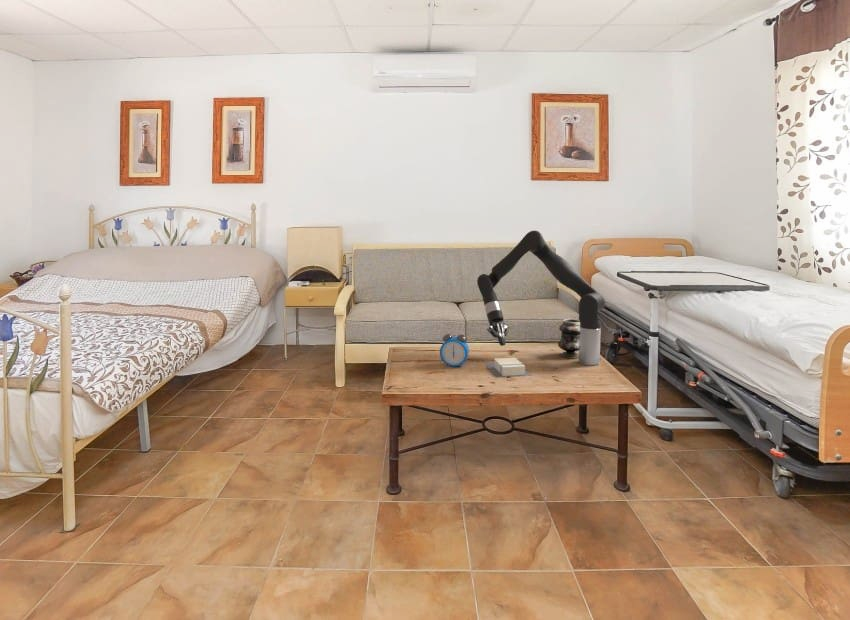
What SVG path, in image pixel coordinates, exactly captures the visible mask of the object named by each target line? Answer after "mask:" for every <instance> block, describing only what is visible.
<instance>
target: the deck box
mask: <svg viewBox="0 0 850 620" xmlns="http://www.w3.org/2000/svg"><path fill="white" fill-rule="evenodd" d="M493 363H494V368H495V369H496V370H497V371H498V372H499V373H500V374H501V375H502V376H512V377H516V376H515V375H525V369H526V365H525V364H524V363H522V362H521V361H520V360H518V358H517V357H503V358H501V357H500V358H498V357H497V358H493Z"/></svg>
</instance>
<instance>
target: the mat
mask: <svg viewBox="0 0 850 620" xmlns="http://www.w3.org/2000/svg"><path fill="white" fill-rule="evenodd" d="M483 364H484V365H485V366H486V368H487V369H488V370H490V371H491V373H492V374H493V375H494V376H495V378H506V377H507V378H509V377H513V376H502V375H501V374H500V373H499V372H498V371H497V370H496V369H495V368H494V362H484V363H483ZM529 376H530V377H531V376H532V374H531V372H529V371H528V370H527V369H526V368H525V375H515V376H514V377H529Z"/></svg>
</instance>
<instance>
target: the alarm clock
mask: <svg viewBox="0 0 850 620" xmlns="http://www.w3.org/2000/svg"><path fill="white" fill-rule="evenodd" d="M441 341H442V342H443V343H442V344H441V346H440V348H439V356H440V359H441V361H442V362H443V363H444V364H445V365H446V367H447V366H448V367H452V368H453V367H454V368H457V367H461V366H462V365H463V364H464V363H465V362H466V361H467V359H468V358H469V355H470V348H469V345H468V343H467V341H468V339H467V337H466V336H465V335H464V334H457V336H456V335H452V334H451V333H446V334H444V335H443V336H442V340H441Z"/></svg>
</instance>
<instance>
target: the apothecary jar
mask: <svg viewBox="0 0 850 620" xmlns="http://www.w3.org/2000/svg"><path fill="white" fill-rule="evenodd" d="M558 329H559V331H560V332H561V335H560V336H561V337H560V340H559V341H558V343H557V345H558V347H559V349H561V350H563V352H561V353H559V356H560V357H561V358H565V359H579V343H580V321H579V319H575V318H565V319H563V320H562V323H561V324H560V325H559V328H558Z"/></svg>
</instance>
